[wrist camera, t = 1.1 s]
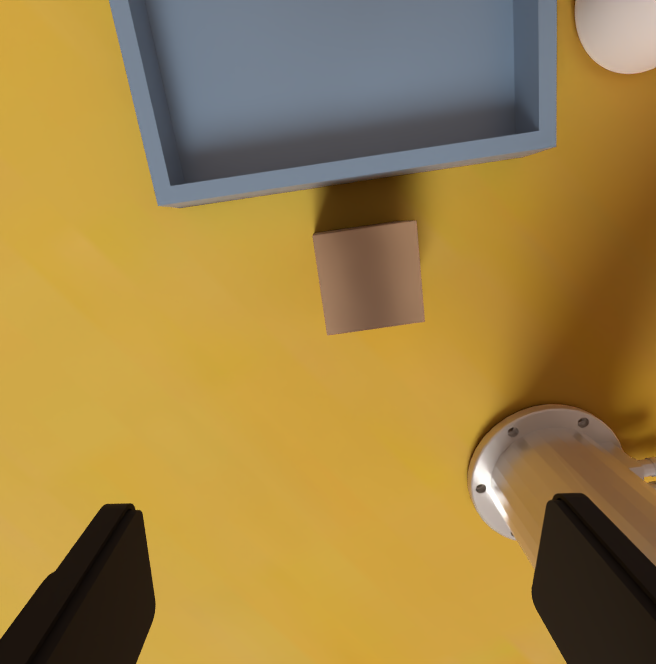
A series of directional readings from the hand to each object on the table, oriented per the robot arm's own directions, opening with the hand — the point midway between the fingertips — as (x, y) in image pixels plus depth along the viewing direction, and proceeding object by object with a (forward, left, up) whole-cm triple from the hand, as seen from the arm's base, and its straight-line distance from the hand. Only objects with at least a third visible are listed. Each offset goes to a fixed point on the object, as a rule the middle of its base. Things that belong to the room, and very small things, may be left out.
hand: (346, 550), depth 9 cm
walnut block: (-3, -4, -22) cm, 23 cm away
